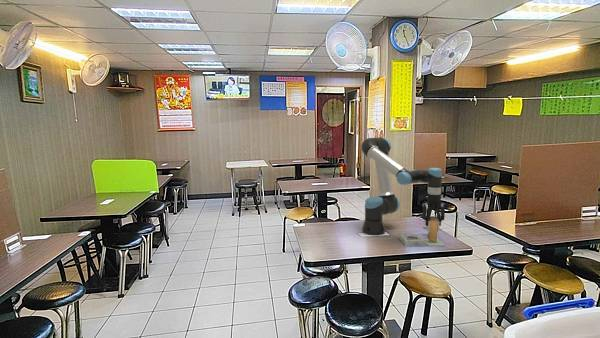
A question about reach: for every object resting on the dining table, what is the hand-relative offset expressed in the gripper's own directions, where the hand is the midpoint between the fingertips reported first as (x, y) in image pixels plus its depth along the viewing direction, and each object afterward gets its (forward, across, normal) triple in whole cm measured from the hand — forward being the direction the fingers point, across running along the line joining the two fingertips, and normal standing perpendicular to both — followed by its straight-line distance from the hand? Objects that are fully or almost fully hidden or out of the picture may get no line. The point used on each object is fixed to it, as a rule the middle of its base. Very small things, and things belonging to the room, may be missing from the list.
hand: (432, 231), depth 191 cm
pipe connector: (+8, +4, +14) cm, 17 cm away
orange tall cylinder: (+5, 0, 0) cm, 5 cm away
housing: (+8, -12, +1) cm, 14 cm away
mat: (+8, 0, 0) cm, 8 cm away
